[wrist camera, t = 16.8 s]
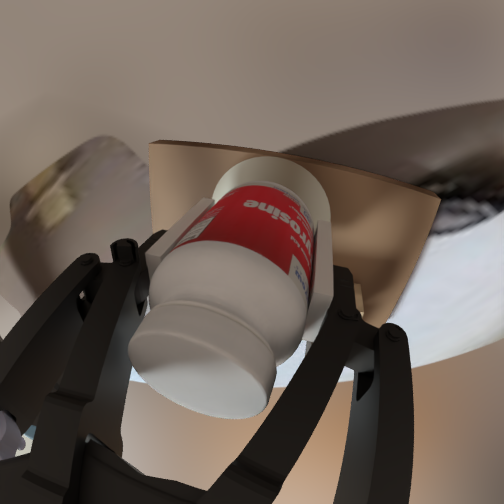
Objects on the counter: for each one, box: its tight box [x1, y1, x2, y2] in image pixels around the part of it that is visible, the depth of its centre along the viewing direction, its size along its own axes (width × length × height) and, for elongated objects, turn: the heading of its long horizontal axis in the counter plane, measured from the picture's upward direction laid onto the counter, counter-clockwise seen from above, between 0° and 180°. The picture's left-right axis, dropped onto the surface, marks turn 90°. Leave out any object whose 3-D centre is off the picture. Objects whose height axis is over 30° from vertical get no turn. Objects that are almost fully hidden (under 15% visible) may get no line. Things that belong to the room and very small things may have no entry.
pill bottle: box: [128, 181, 314, 419], centre depth 12 cm, size 6×6×11 cm
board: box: [149, 140, 441, 356], centre depth 18 cm, size 20×14×5 cm
